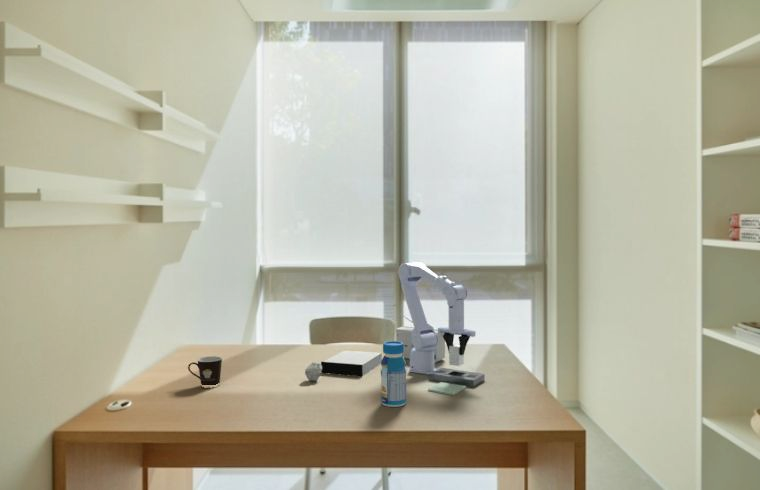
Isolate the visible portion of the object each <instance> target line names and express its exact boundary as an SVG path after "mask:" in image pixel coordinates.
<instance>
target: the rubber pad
mask: <svg viewBox="0 0 760 490" xmlns="http://www.w3.org/2000/svg"><path fill="white" fill-rule="evenodd" d="M465 389H467V386H462V385H456V384H450V383H444V382H438V383H436V384H435V385H433V386H431V387H430V388H429V387H428V389H427V391H428V392H433V393H438V394H445V395H450V396H451V395H452V396H455V395H457V394H459V393H460V392H461V391H463V390H465Z"/></svg>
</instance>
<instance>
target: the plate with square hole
mask: <svg viewBox="0 0 760 490" xmlns="http://www.w3.org/2000/svg"><path fill="white" fill-rule="evenodd" d="M436 369H437V370H435V371H433V372H431V373H429V375H428V381H432V382H438V383H440V382H443V383H449V384H455V385H461V386H466V387H468V388H475V387H476V386H478V385H480V384H481V383H483V382H484V381H485V373H479V372H473V371H467V370H460V369H453V368H445V367H440V368H436Z"/></svg>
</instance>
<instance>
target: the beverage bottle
mask: <svg viewBox="0 0 760 490" xmlns="http://www.w3.org/2000/svg"><path fill="white" fill-rule="evenodd" d="M382 352H383V353H382V354H384V355H383V356H382V361H381V364H380V366H381V369H380V378H381V379H380V383H381V385H380V386H381V388H380V389H381V394H380V395H381V397H380V398H381V399H380V401H381V404H382V405H383V406H385V407H389V408H398V407H403V406H405V405H406V404H407V369H406V365H407V362H406V358H404V357H403V356H402V354H403V352H404V345H403V343H402V342H398V341H397V340H389V341H385V342H383V343H382Z"/></svg>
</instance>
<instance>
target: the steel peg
mask: <svg viewBox="0 0 760 490" xmlns="http://www.w3.org/2000/svg"><path fill="white" fill-rule="evenodd" d="M464 355H465V353H464V354H463V355H460V344H457V343H453V345H451V346H449V351H448V359H449V360H448V362H449V365H450V366H455V367H456V366H457V367H460V366H463V365H464V364H465V362H464V361H465V357H464Z"/></svg>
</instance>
